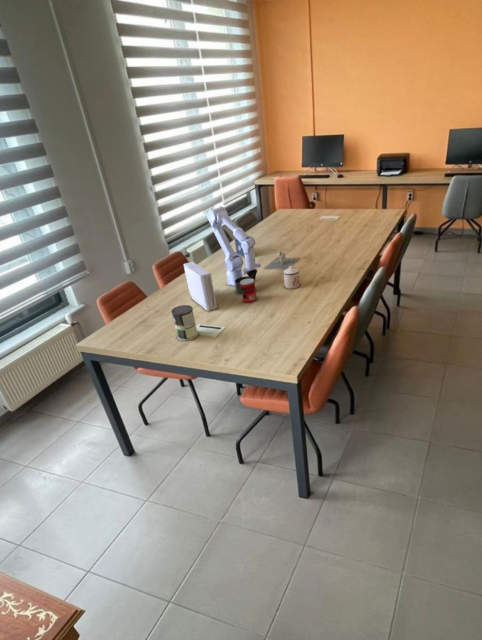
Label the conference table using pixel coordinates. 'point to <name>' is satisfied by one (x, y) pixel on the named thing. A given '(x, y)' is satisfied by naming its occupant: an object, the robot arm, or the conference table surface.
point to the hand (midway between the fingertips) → (253, 282)
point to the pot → (237, 283)
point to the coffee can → (184, 322)
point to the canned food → (248, 290)
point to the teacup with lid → (291, 277)
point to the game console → (200, 286)
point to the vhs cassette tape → (239, 247)
